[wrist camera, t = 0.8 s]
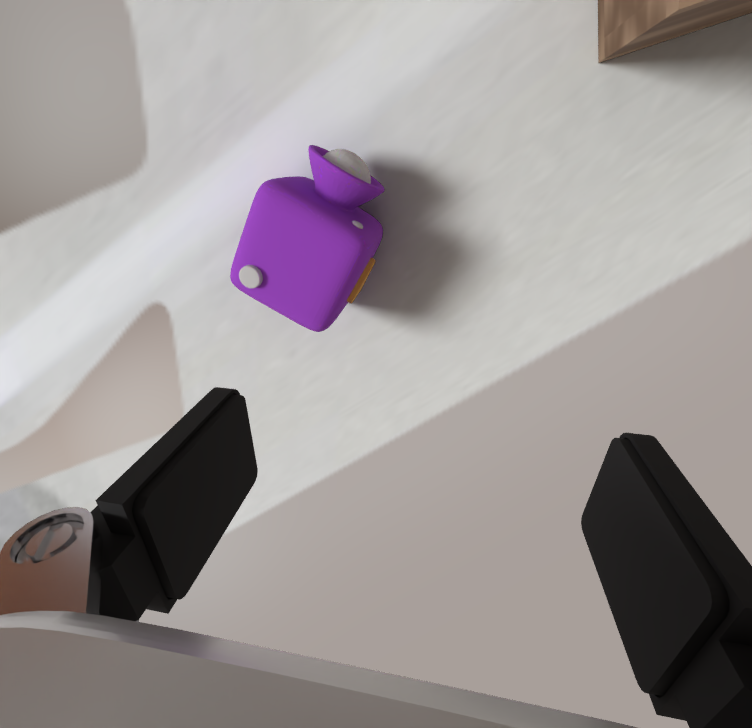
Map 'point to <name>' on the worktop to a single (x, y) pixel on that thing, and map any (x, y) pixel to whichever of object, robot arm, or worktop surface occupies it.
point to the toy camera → (310, 240)
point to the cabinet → (657, 21)
